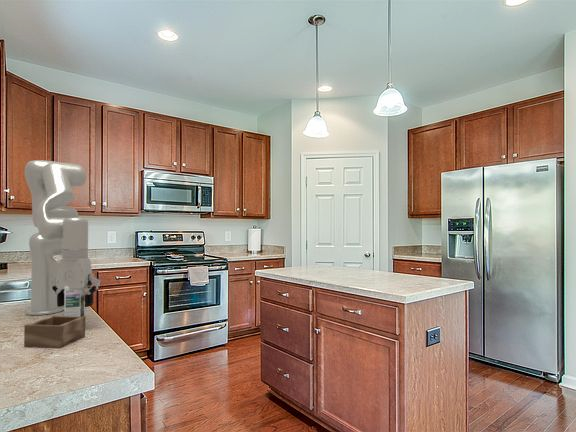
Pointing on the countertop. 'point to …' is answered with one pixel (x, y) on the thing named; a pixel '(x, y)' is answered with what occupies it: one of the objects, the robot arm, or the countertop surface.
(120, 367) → the countertop surface
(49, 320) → the walnut holder
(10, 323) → the countertop surface
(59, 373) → the countertop surface
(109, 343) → the countertop surface
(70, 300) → the syrup box
